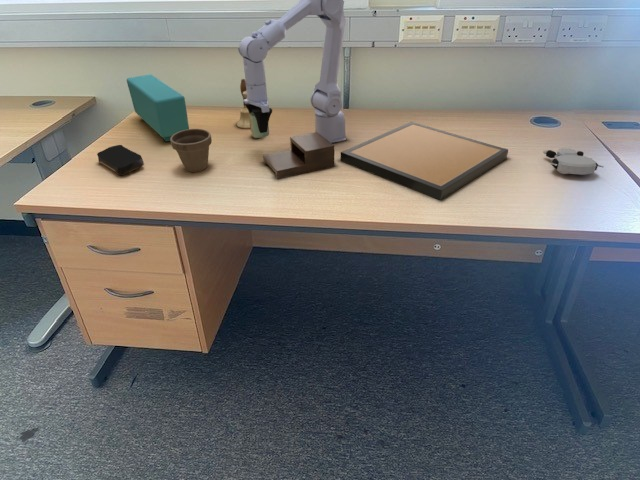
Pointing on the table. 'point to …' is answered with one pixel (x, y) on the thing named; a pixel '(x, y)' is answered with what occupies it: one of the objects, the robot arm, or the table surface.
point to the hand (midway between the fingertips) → (260, 129)
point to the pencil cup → (255, 128)
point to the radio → (158, 105)
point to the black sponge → (120, 159)
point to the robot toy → (571, 162)
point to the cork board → (425, 158)
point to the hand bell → (244, 112)
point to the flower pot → (192, 148)
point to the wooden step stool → (307, 145)
